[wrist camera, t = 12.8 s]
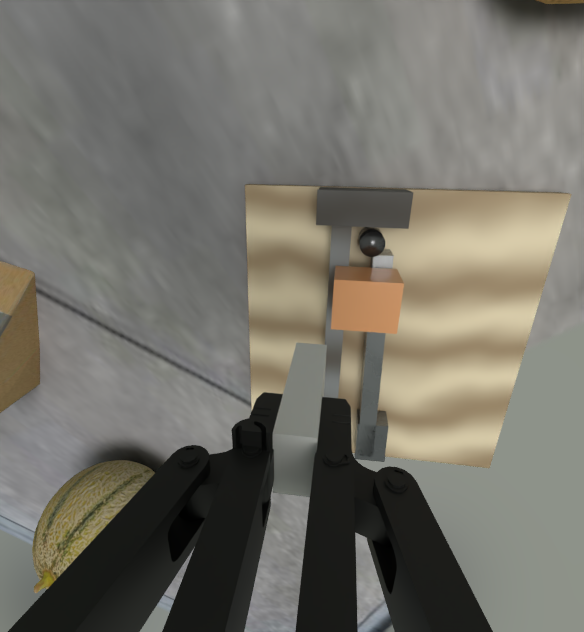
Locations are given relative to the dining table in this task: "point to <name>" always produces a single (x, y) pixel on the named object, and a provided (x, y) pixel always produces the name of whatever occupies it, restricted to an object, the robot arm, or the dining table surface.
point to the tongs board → (405, 302)
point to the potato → (560, 1)
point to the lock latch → (366, 299)
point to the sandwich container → (18, 334)
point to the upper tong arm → (372, 366)
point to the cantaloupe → (82, 514)
